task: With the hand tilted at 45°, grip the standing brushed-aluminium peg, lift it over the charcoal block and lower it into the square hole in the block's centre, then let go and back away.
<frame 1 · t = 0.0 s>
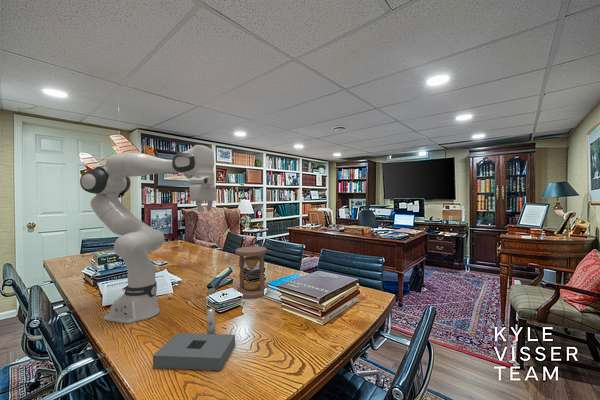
hand: (204, 211, 120), 48 cm above the table, tool pointing down, fingers open, 8 cm apart
valve: (216, 304, 134), on the table
hole block: (196, 356, 89), on the table
hourglass: (251, 293, 149), on the table
peg: (211, 334, 103), on the table
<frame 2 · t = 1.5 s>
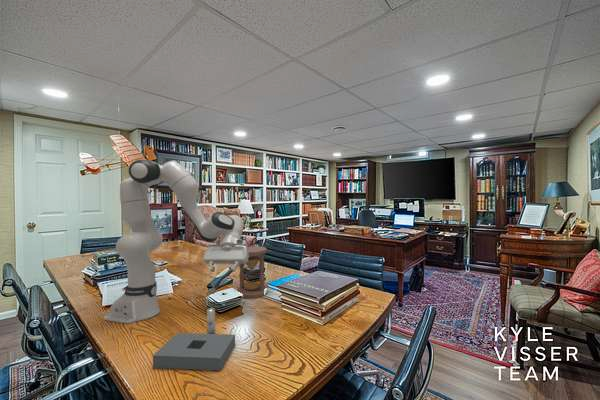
hand: (222, 271, 116), 22 cm above the table, tool tilted 45°, fingers open, 8 cm apart
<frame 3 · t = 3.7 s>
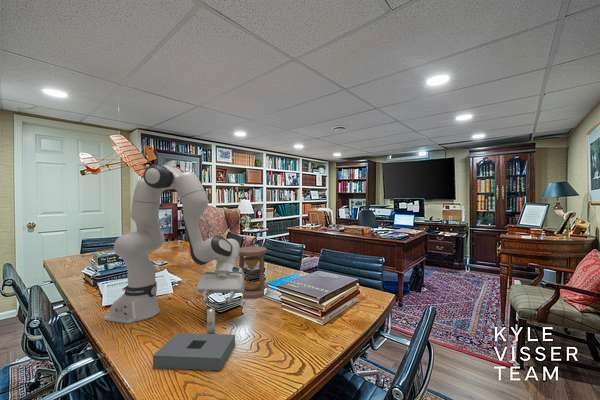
hand: (216, 302, 109), 11 cm above the table, tool tilted 45°, fingers open, 8 cm apart
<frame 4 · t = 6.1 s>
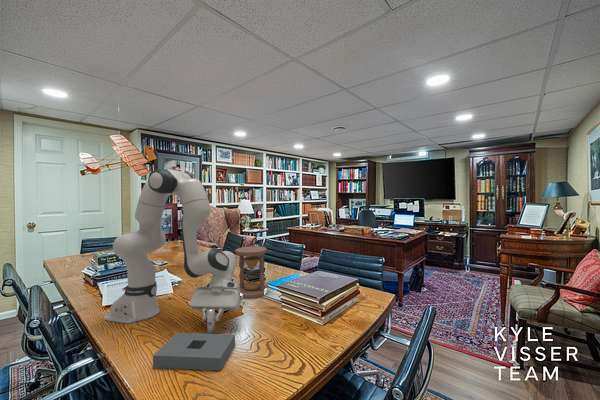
hand: (210, 320, 103), 6 cm above the table, tool tilted 45°, fingers closed on peg, 3 cm apart
peg: (211, 334, 103), on the table, touching gripper
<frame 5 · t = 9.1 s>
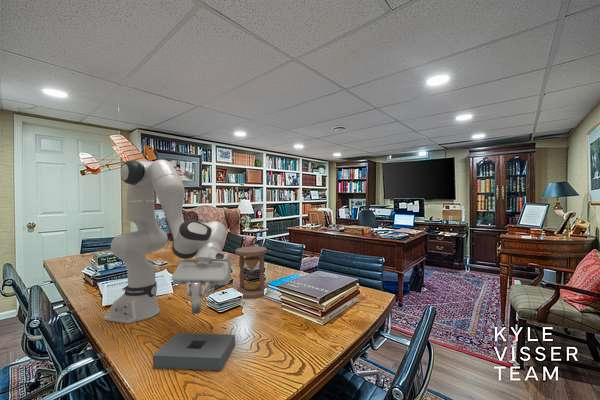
hand: (195, 295, 89), 21 cm above the table, tool tilted 45°, fingers closed on peg, 3 cm apart
peg: (196, 312, 89), point 15 cm above the table, touching gripper
when the fingers open (8 cm above the table, at t = 12.1 s): peg drops 2 cm, resting in hole block.
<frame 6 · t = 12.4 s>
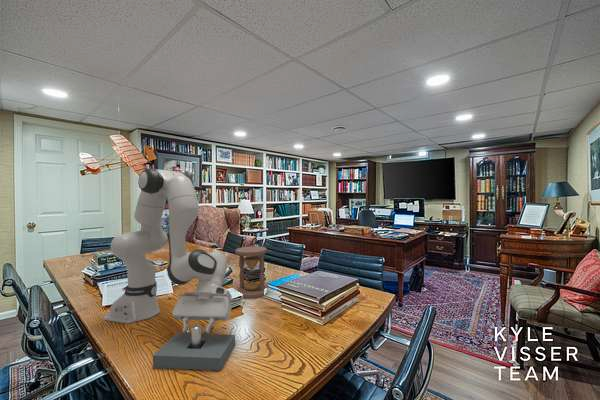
hand: (195, 332, 89), 8 cm above the table, tool tilted 45°, fingers open, 6 cm apart
peg: (196, 356, 89), resting in hole block
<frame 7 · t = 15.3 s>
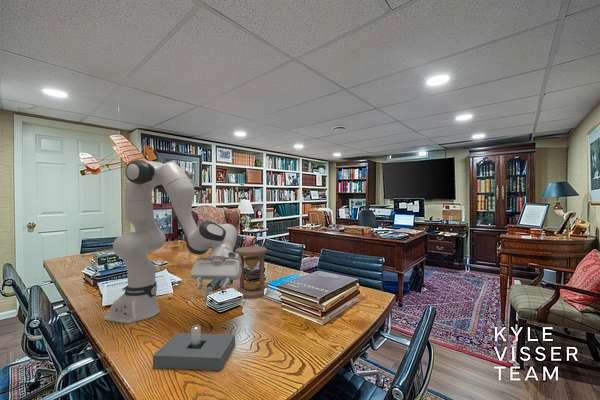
hand: (211, 289, 102), 19 cm above the table, tool tilted 45°, fingers open, 8 cm apart
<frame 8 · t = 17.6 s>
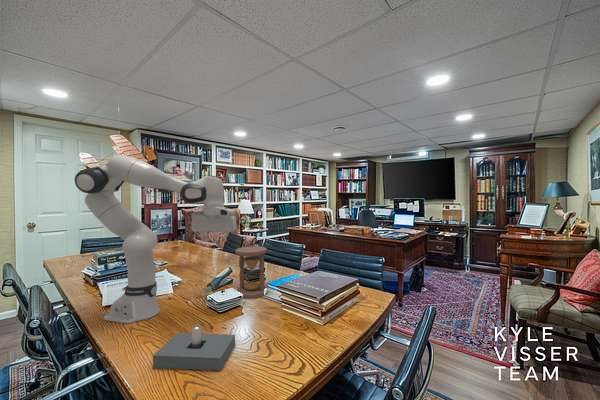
hand: (214, 241, 120), 34 cm above the table, tool pointing down, fingers open, 8 cm apart
at the end: peg 0.1 cm off-centre on the hole block, point 0.0 cm above the hole block's base; peg tilted 1°; the gripper is holding nothing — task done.
